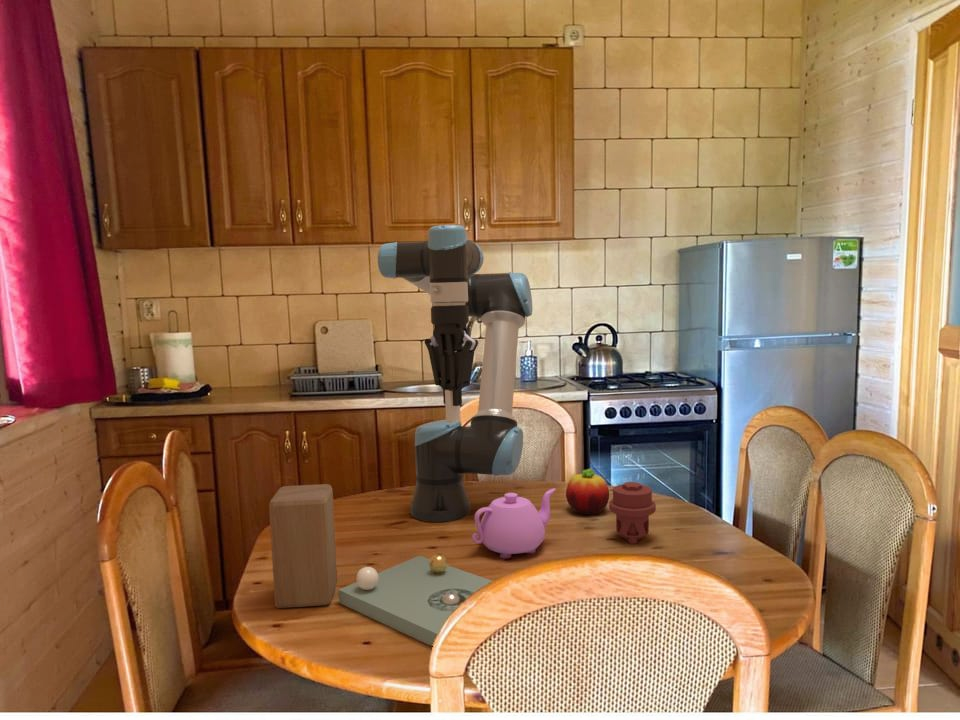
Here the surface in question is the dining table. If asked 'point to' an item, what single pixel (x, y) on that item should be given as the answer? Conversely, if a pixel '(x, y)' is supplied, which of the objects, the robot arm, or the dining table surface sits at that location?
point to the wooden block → (303, 545)
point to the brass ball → (438, 563)
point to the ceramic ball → (367, 578)
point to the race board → (412, 597)
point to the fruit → (587, 493)
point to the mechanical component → (632, 510)
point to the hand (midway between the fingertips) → (453, 421)
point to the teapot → (512, 524)
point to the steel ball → (450, 599)
